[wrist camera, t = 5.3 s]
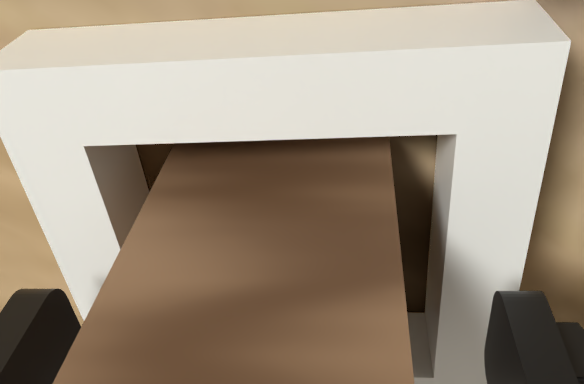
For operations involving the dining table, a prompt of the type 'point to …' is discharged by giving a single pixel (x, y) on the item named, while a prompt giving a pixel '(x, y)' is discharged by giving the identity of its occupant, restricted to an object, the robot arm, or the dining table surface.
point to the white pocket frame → (301, 131)
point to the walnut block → (256, 272)
